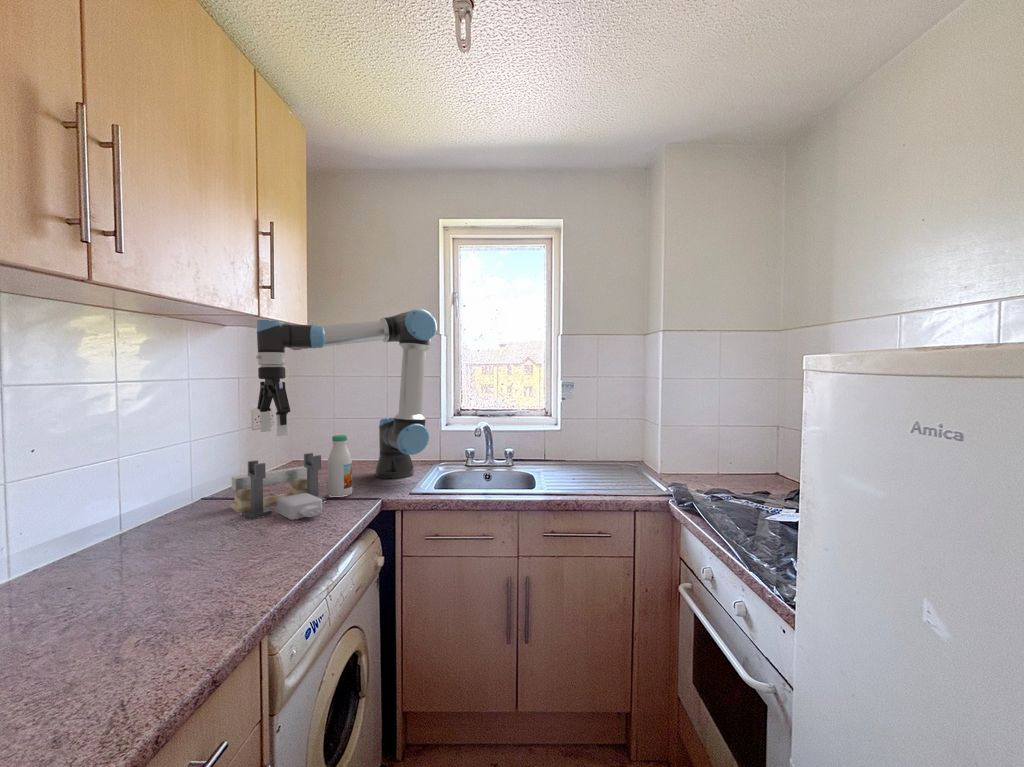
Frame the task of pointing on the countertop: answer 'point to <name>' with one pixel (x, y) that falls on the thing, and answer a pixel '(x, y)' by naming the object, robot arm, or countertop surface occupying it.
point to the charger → (299, 506)
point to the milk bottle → (339, 468)
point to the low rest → (245, 497)
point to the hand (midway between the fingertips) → (273, 433)
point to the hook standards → (258, 475)
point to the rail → (271, 478)
